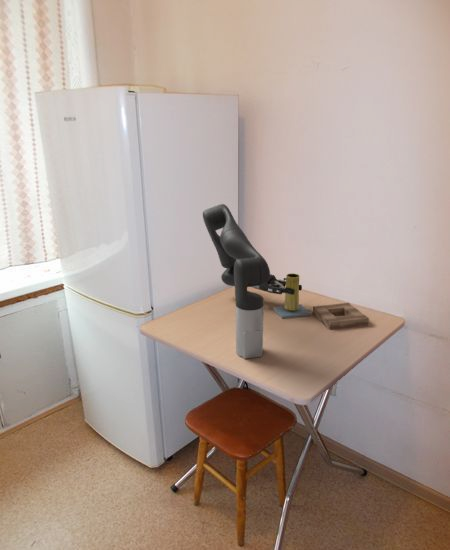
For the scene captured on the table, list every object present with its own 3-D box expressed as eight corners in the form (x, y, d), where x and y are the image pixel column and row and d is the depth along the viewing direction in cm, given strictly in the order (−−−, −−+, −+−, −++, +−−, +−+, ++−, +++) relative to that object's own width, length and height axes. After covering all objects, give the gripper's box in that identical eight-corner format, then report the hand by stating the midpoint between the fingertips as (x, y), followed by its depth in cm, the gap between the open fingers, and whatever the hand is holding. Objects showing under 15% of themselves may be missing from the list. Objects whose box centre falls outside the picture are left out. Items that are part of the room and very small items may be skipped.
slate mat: (309, 315, 173) (310, 313, 173) (282, 318, 171) (282, 316, 170) (300, 306, 182) (300, 304, 182) (274, 309, 180) (274, 306, 180)
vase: (301, 307, 176) (303, 275, 171) (293, 312, 172) (294, 278, 167) (289, 303, 180) (291, 272, 175) (281, 308, 176) (282, 275, 171)
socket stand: (368, 325, 164) (368, 318, 163) (329, 329, 160) (330, 322, 159) (348, 309, 178) (348, 302, 177) (312, 313, 175) (312, 306, 174)
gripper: (253, 277, 175) (289, 286, 165) (271, 269, 186) (306, 276, 176) (253, 294, 177) (288, 304, 167) (271, 285, 188) (305, 293, 178)
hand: (297, 290), depth 172 cm, fingers closed on vase, 5 cm apart
